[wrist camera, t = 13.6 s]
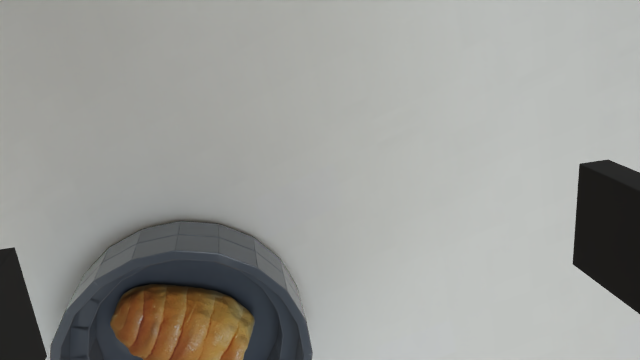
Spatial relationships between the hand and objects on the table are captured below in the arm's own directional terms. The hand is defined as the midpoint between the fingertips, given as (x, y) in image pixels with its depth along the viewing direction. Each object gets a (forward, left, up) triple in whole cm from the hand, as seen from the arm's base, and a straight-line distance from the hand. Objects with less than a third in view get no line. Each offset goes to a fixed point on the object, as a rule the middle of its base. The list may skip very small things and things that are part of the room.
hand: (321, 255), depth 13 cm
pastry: (-3, -17, -25) cm, 30 cm away
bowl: (-3, -17, -25) cm, 30 cm away
